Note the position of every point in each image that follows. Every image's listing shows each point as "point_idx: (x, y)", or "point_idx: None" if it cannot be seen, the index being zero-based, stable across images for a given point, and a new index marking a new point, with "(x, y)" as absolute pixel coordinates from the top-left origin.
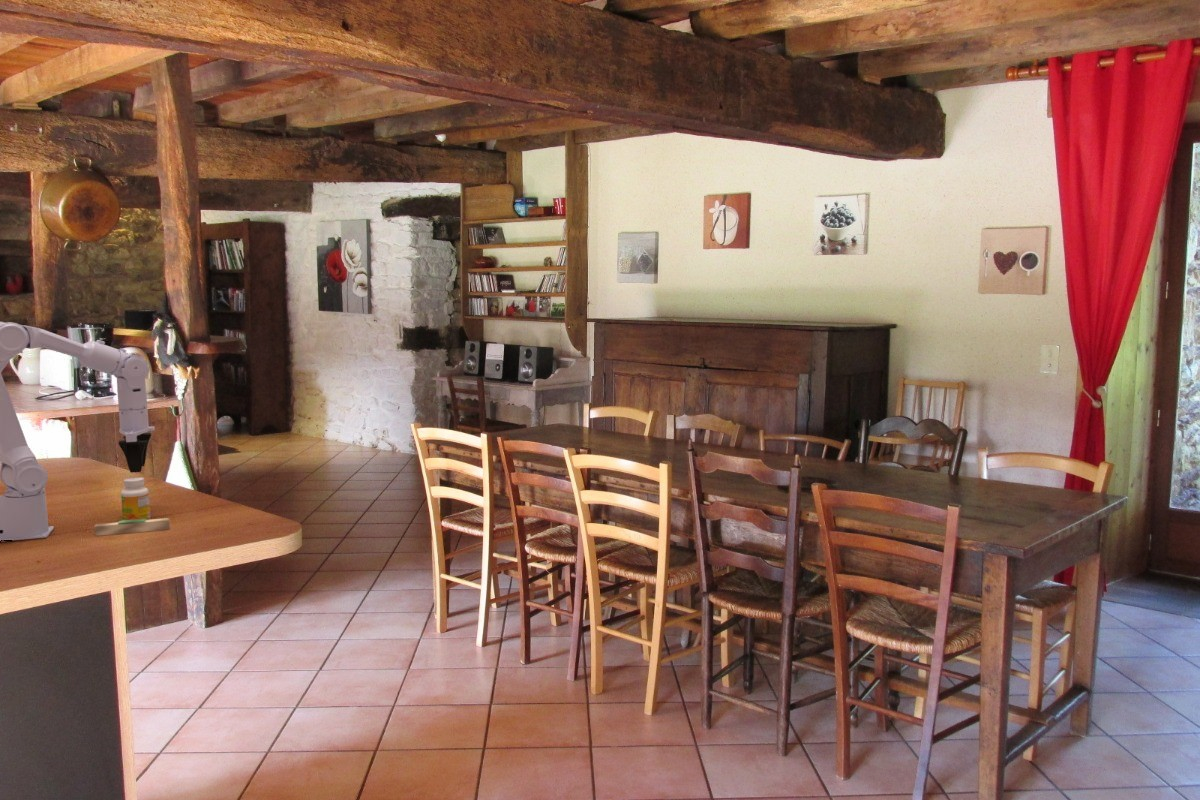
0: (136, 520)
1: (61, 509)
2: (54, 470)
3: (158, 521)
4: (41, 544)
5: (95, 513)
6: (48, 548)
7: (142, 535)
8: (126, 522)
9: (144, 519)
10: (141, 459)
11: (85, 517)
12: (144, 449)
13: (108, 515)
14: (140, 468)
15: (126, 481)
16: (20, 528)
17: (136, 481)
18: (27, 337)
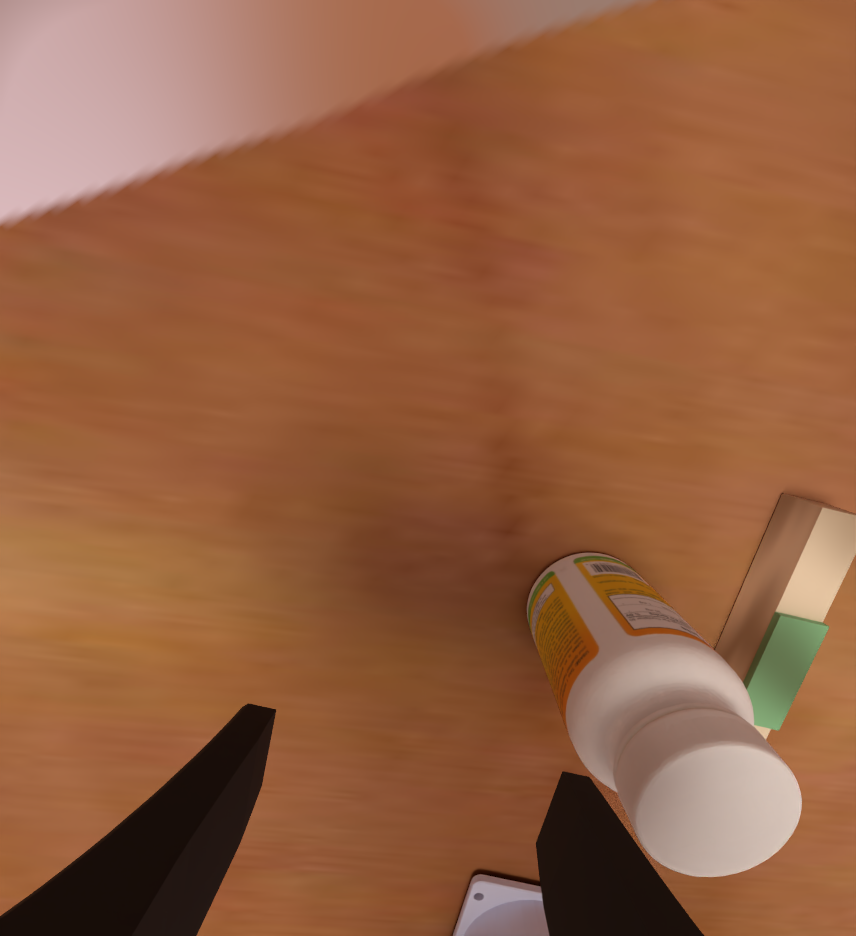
0: (789, 657)
1: (118, 821)
2: None
3: (850, 563)
4: (694, 915)
5: (274, 724)
6: (774, 902)
7: (841, 616)
8: (793, 699)
9: (796, 623)
10: (699, 933)
11: (331, 763)
12: (154, 908)
13: (347, 685)
14: (607, 811)
15: (754, 862)
16: None
17: (798, 799)
18: None
